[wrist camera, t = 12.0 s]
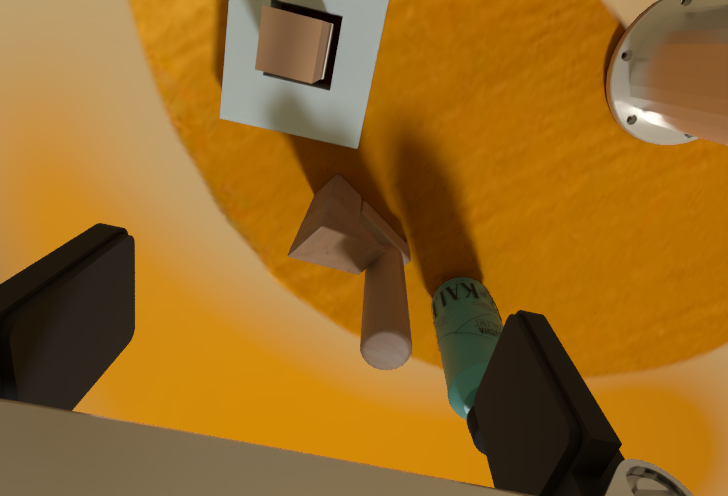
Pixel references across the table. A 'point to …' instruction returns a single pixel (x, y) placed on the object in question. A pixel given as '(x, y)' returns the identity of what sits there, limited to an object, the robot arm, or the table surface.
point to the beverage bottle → (465, 342)
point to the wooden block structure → (362, 266)
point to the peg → (293, 45)
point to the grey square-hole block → (297, 98)
